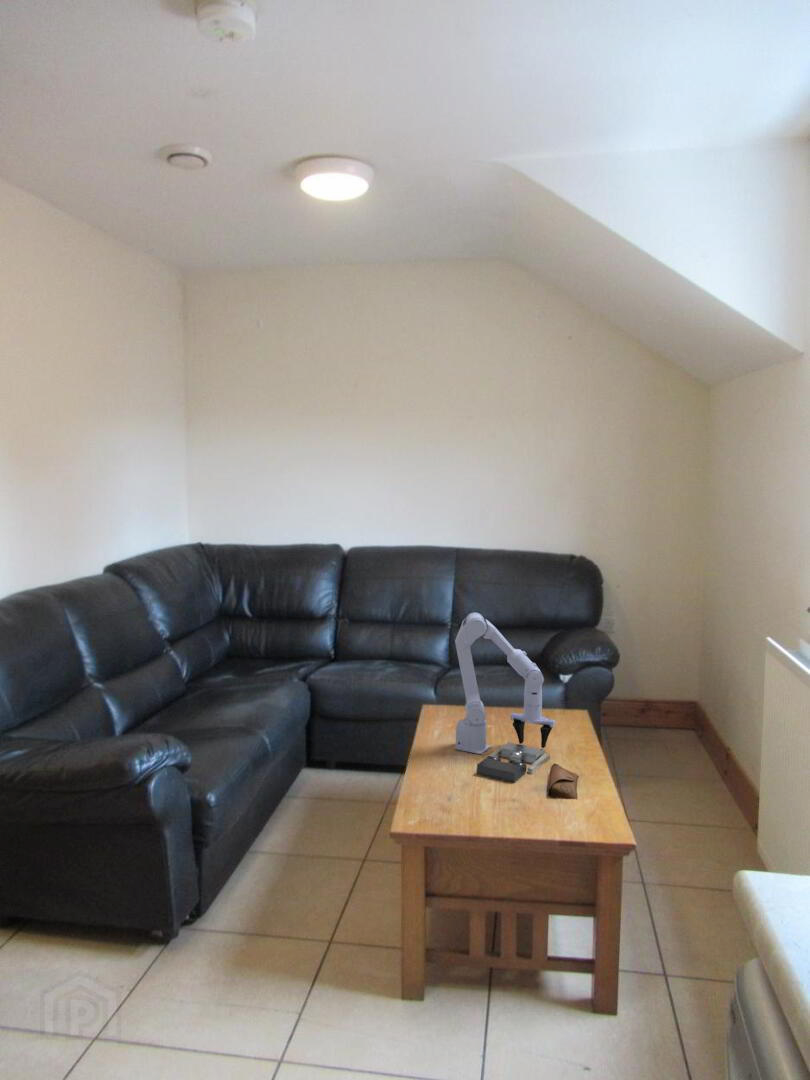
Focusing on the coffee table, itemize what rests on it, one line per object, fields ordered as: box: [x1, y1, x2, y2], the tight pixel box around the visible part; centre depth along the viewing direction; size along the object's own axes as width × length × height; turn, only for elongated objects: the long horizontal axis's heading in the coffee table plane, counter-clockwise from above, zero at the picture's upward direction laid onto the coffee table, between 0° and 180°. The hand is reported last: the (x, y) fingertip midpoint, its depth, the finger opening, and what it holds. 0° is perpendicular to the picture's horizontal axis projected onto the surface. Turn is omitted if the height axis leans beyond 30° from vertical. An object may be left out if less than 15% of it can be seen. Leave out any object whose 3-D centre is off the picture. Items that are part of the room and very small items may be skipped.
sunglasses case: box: [547, 763, 579, 800], centre depth 218 cm, size 18×7×7 cm, turn 167°
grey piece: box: [499, 742, 545, 765], centre depth 238 cm, size 12×9×3 cm
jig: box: [483, 744, 551, 775], centre depth 236 cm, size 16×14×2 cm
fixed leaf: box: [476, 755, 528, 784], centre depth 227 cm, size 12×9×3 cm
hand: (532, 744), depth 247 cm, fingers open, 7 cm apart
